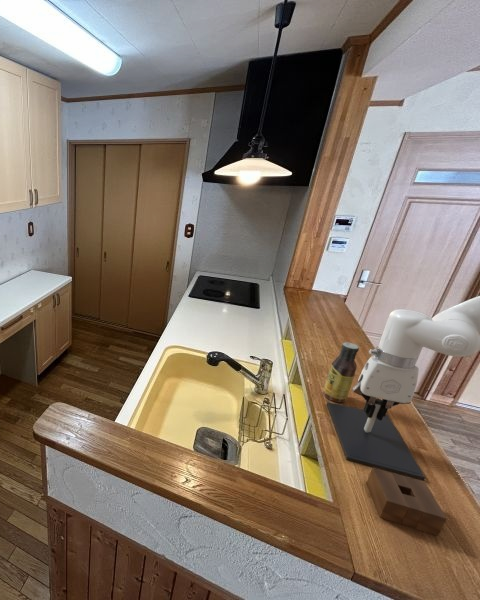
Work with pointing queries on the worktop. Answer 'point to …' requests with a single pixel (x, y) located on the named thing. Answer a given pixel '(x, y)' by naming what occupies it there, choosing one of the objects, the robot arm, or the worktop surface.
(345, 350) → the sauce bottle
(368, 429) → the white thin cylinder
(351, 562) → the worktop surface
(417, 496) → the pen stand
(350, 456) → the plate
